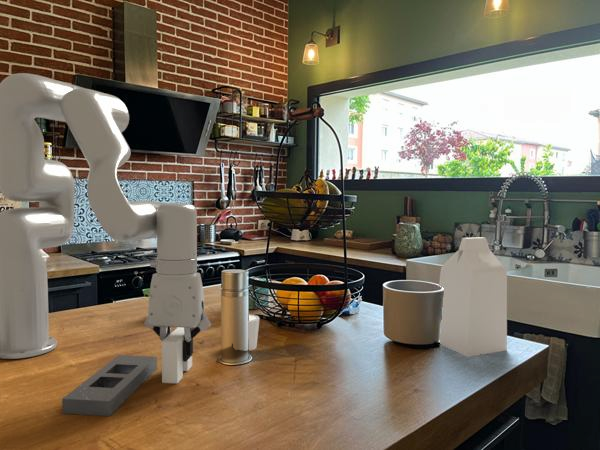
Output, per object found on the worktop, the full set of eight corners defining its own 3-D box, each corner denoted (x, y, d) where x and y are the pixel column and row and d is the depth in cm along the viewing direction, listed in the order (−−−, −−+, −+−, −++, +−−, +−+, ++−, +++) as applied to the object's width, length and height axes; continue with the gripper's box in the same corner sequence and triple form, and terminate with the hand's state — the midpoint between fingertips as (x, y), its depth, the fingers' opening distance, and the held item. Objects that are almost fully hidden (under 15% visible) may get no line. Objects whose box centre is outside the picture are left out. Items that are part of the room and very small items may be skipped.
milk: (471, 335, 122) (475, 234, 119) (506, 350, 111) (512, 239, 109) (433, 341, 117) (437, 236, 115) (466, 356, 106) (472, 241, 104)
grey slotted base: (62, 413, 77) (62, 398, 77) (119, 366, 97) (118, 354, 97) (109, 416, 77) (109, 401, 76) (157, 368, 97) (156, 356, 96)
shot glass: (254, 353, 106) (254, 322, 106) (225, 350, 108) (225, 320, 107) (262, 343, 113) (263, 314, 112) (235, 341, 114) (235, 312, 114)
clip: (162, 382, 90) (161, 341, 89) (178, 364, 99) (177, 327, 98) (177, 383, 90) (177, 342, 89) (192, 365, 99) (192, 327, 98)
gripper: (128, 269, 89) (129, 364, 91) (213, 271, 88) (213, 368, 90) (144, 262, 97) (145, 350, 98) (223, 264, 95) (223, 354, 97)
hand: (177, 357), depth 94 cm, fingers closed on clip, 3 cm apart
